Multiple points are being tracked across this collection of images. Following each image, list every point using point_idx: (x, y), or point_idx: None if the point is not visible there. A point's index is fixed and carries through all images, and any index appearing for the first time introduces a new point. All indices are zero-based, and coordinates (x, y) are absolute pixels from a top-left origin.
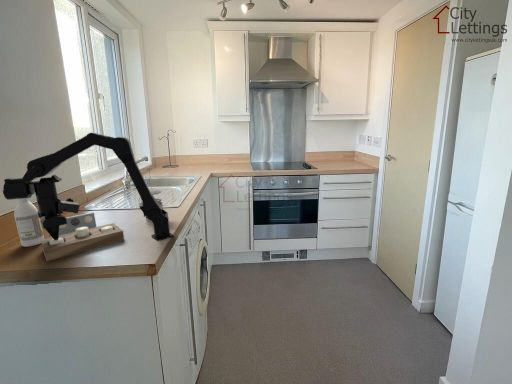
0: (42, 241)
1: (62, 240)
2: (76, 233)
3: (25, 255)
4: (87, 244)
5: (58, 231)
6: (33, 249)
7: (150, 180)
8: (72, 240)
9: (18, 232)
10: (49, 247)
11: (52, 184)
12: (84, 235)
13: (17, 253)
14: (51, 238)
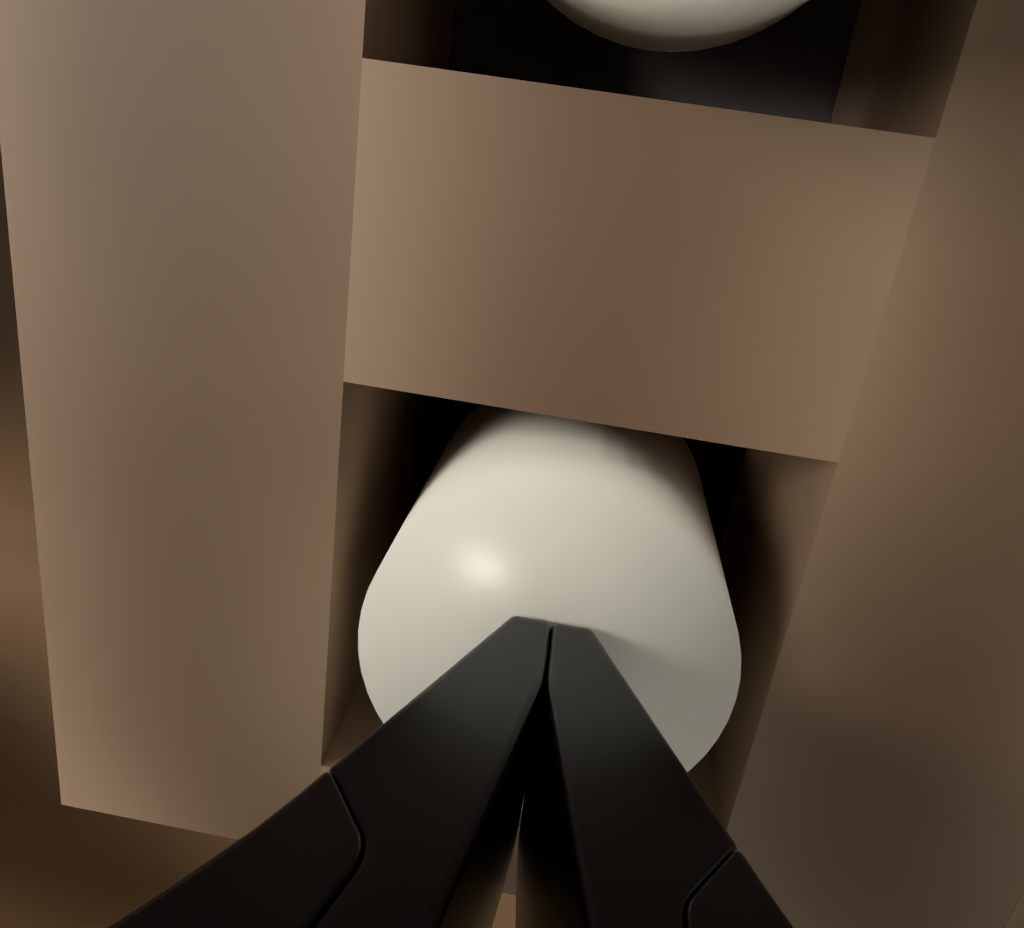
0: (228, 816)
1: (693, 534)
2: (732, 10)
3: (228, 846)
4: None
5: (724, 853)
6: (13, 708)
7: None
8: (958, 298)
9: None
10: (890, 871)
11: None
12: None
13: (36, 878)
14: (143, 628)
